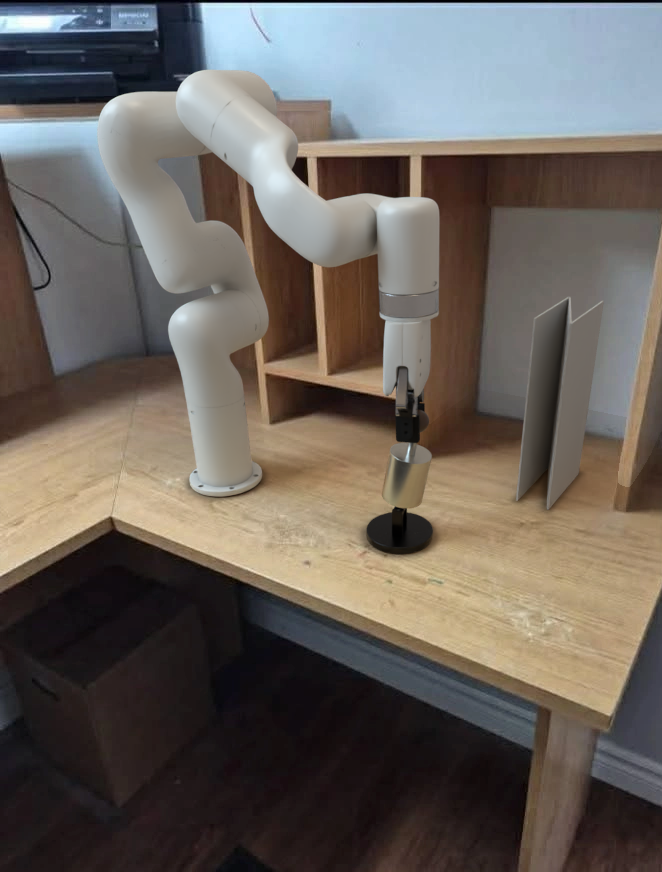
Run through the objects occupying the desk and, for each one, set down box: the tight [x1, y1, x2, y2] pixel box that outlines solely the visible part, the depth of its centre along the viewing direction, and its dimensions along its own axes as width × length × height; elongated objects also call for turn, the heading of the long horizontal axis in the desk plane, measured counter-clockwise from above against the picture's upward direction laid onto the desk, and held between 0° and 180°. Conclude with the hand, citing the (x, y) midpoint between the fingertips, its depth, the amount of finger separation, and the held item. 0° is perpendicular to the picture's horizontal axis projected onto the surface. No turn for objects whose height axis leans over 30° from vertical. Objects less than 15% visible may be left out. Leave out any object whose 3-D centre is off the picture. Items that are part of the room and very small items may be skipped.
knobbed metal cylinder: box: [381, 410, 433, 513], centre depth 98 cm, size 17×6×6 cm
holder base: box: [365, 508, 434, 555], centre depth 103 cm, size 10×10×5 cm
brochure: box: [515, 296, 605, 511], centre depth 109 cm, size 14×6×30 cm, turn 145°
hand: (410, 434), depth 96 cm, fingers closed on knobbed metal cylinder, 3 cm apart
